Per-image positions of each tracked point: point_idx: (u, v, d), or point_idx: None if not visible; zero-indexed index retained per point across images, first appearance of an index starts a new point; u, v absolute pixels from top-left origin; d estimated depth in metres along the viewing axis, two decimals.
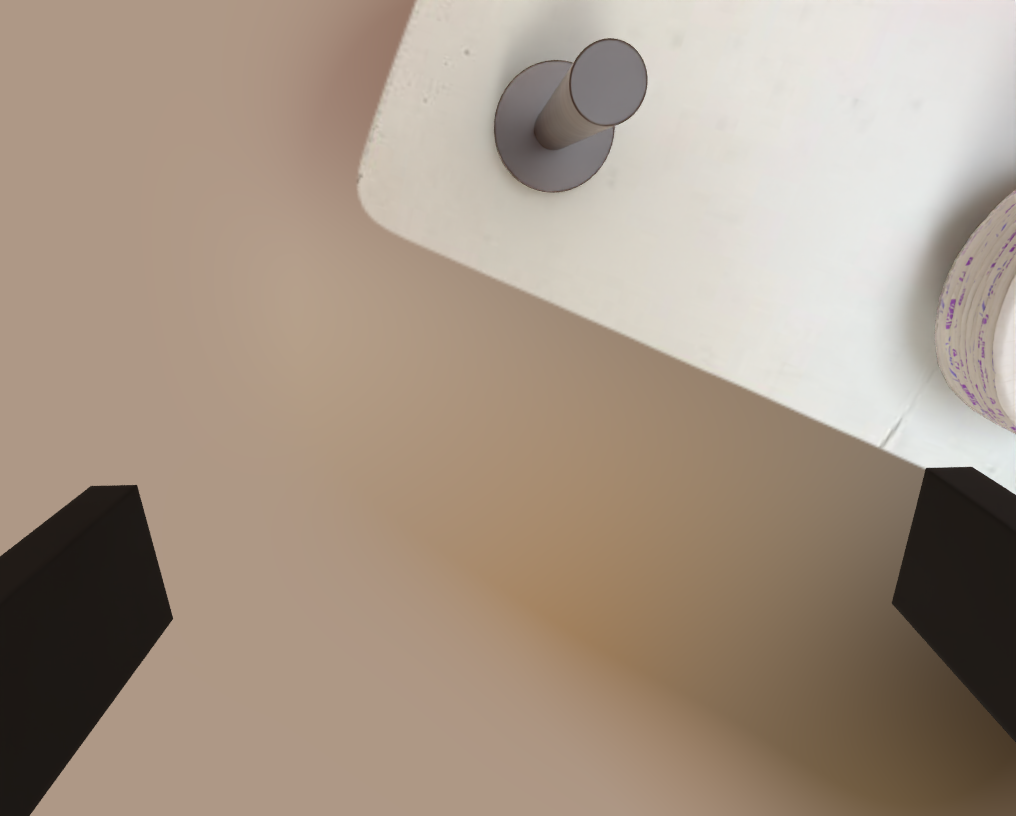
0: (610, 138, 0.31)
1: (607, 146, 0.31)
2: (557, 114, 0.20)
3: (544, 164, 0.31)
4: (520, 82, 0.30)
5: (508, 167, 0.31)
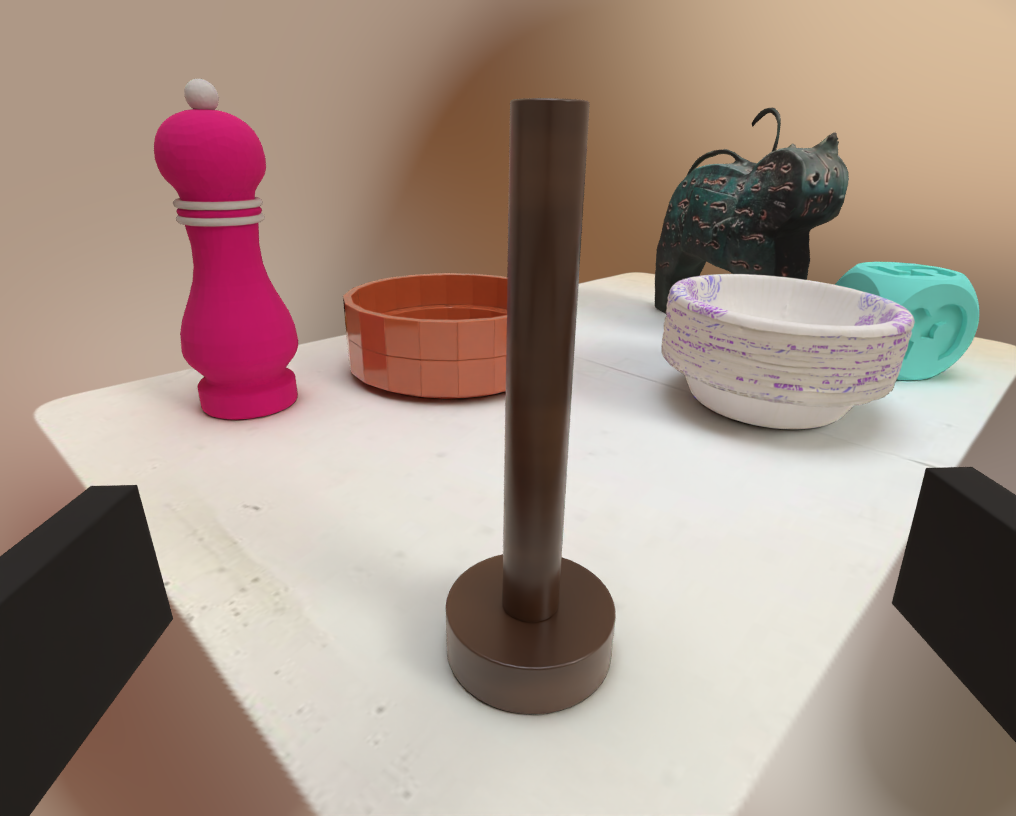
0: (564, 559, 0.24)
1: (572, 563, 0.24)
2: (547, 267, 0.16)
3: (572, 623, 0.21)
4: (458, 619, 0.21)
5: (561, 663, 0.19)
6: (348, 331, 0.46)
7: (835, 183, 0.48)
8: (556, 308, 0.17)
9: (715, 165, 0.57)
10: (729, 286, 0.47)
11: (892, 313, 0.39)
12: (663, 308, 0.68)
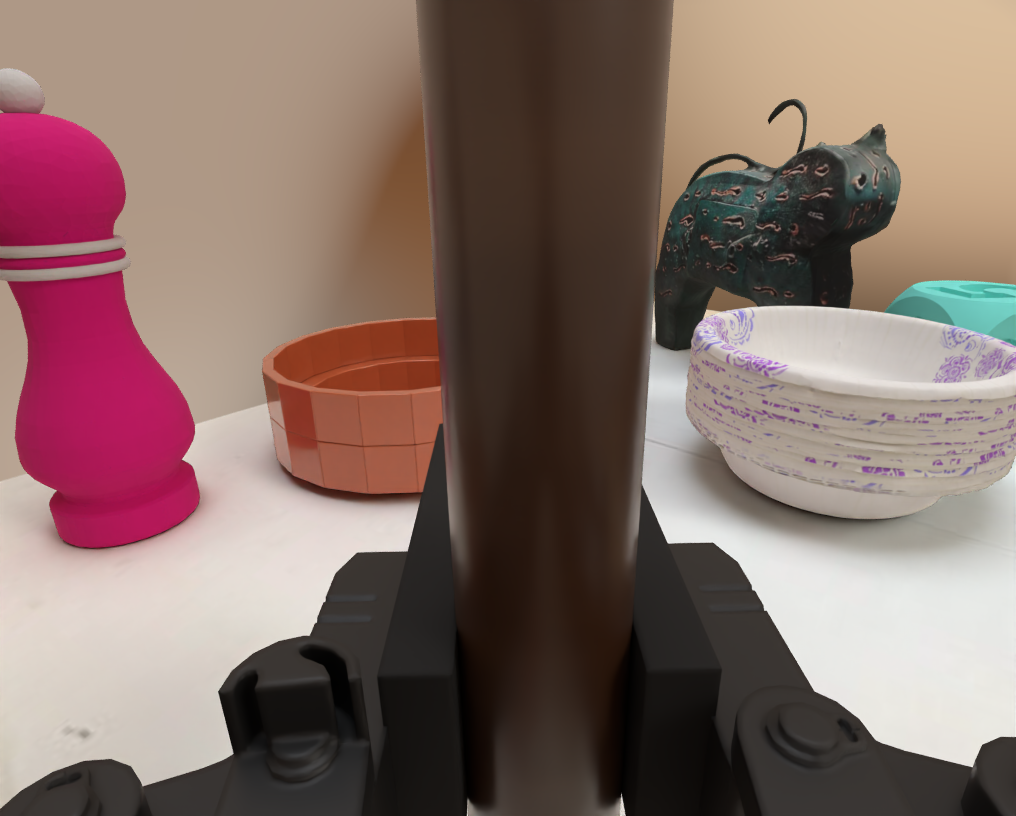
0: None
1: None
2: (559, 431, 0.05)
3: None
4: None
5: None
6: (269, 406, 0.34)
7: (885, 186, 0.38)
8: (590, 536, 0.06)
9: (725, 172, 0.47)
10: (765, 323, 0.36)
11: (1002, 355, 0.29)
12: (667, 343, 0.57)
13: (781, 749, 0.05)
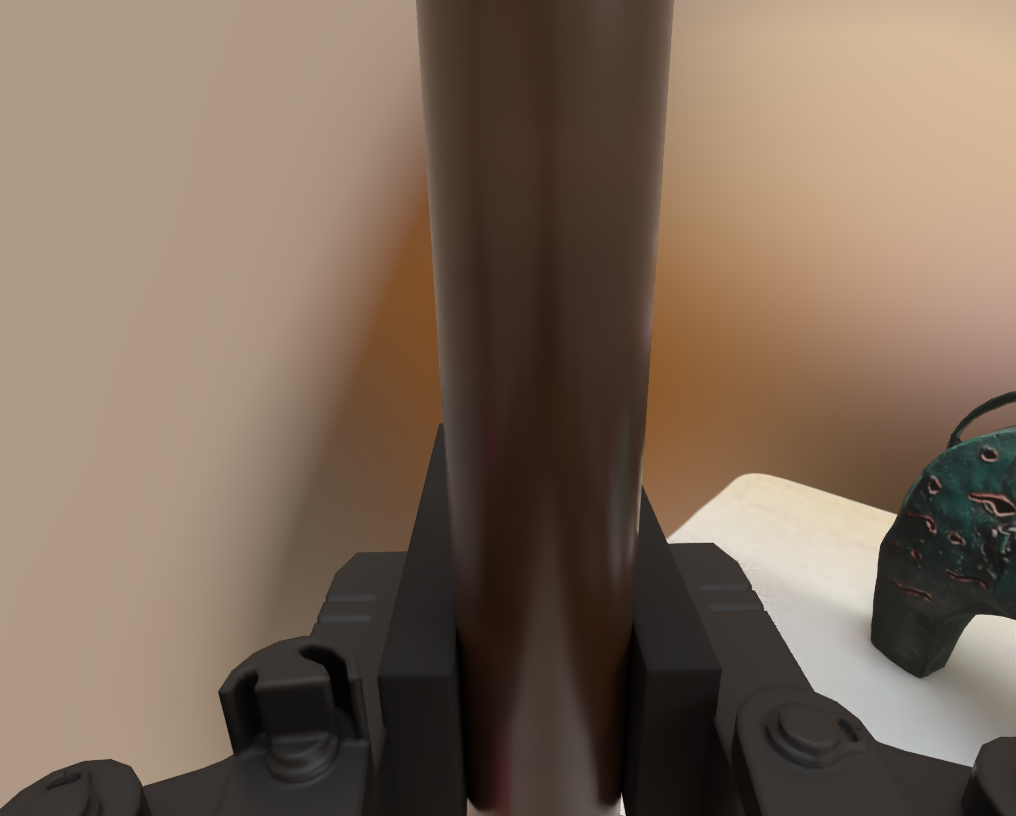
0: None
1: None
2: (560, 430, 0.05)
3: None
4: None
5: None
6: None
7: None
8: (591, 536, 0.06)
9: None
10: None
11: None
12: (900, 660, 0.34)
13: (780, 748, 0.05)
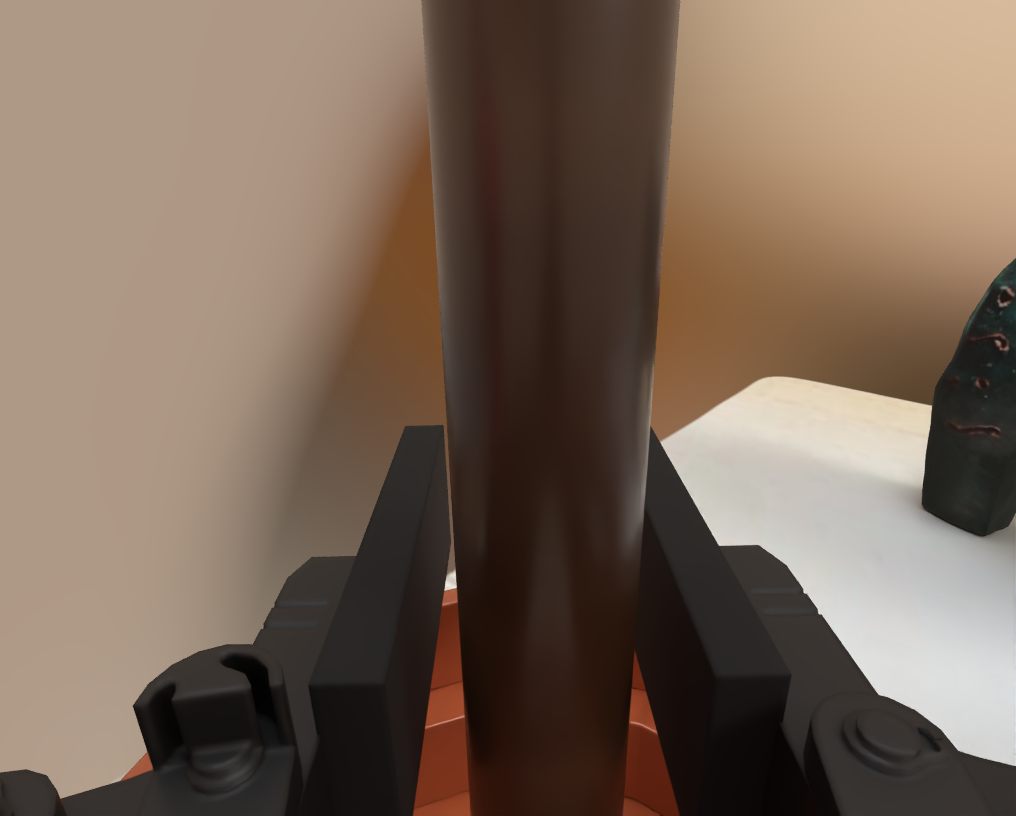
0: None
1: None
2: (564, 409, 0.05)
3: None
4: None
5: None
6: None
7: None
8: (595, 518, 0.06)
9: None
10: None
11: None
12: (958, 519, 0.29)
13: (859, 753, 0.05)
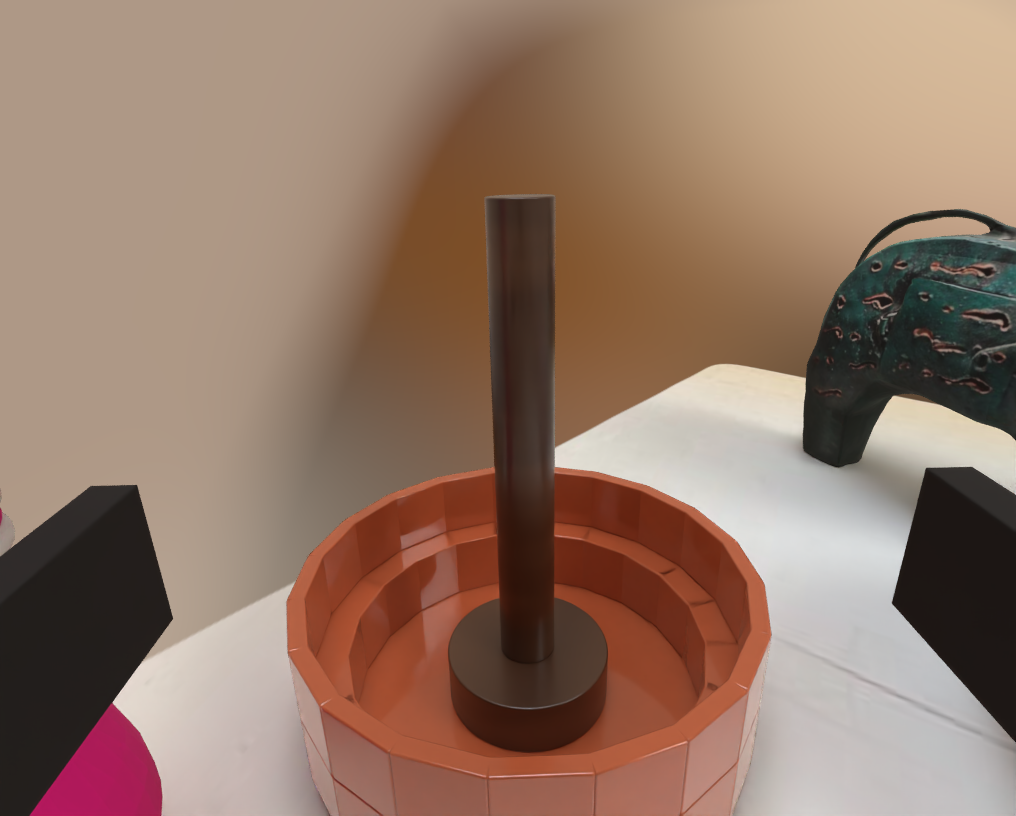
0: (557, 599, 0.26)
1: (565, 603, 0.25)
2: (525, 342, 0.18)
3: (568, 662, 0.22)
4: (460, 665, 0.22)
5: (560, 702, 0.21)
6: (299, 707, 0.19)
7: None
8: (536, 376, 0.18)
9: (957, 240, 0.32)
10: None
11: None
12: (823, 456, 0.42)
13: None
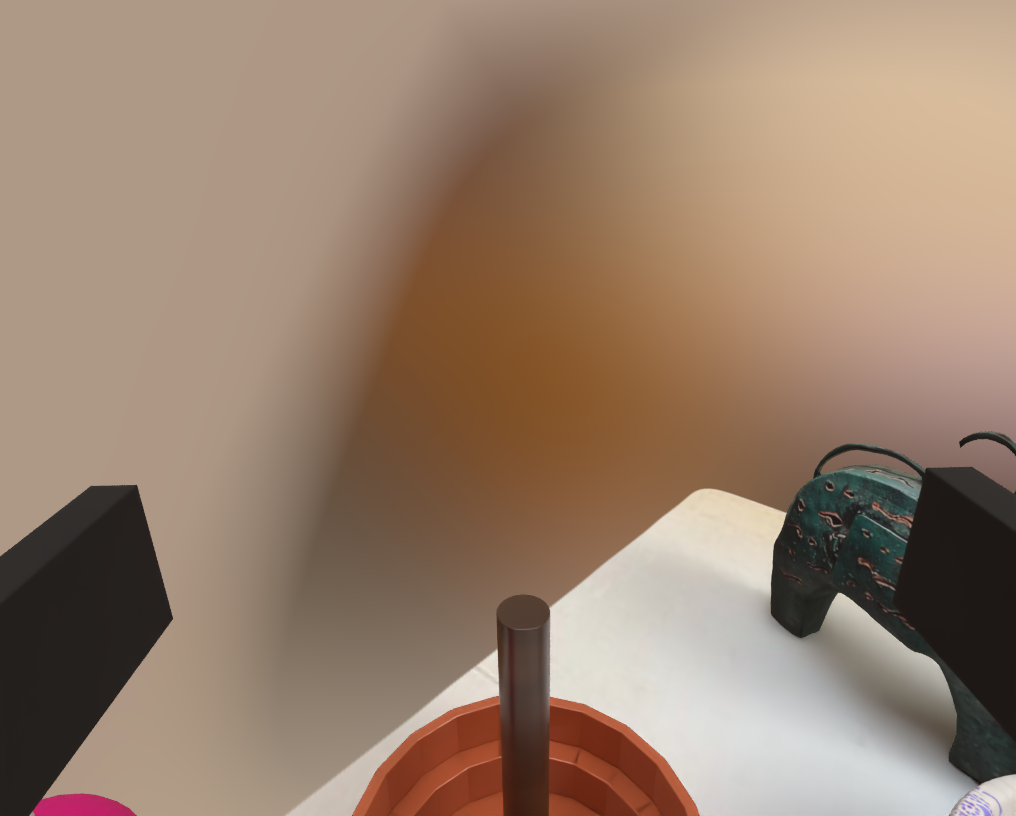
0: None
1: None
2: (527, 713, 0.24)
3: None
4: None
5: None
6: None
7: None
8: (535, 732, 0.24)
9: (893, 488, 0.38)
10: None
11: None
12: (788, 626, 0.48)
13: None
